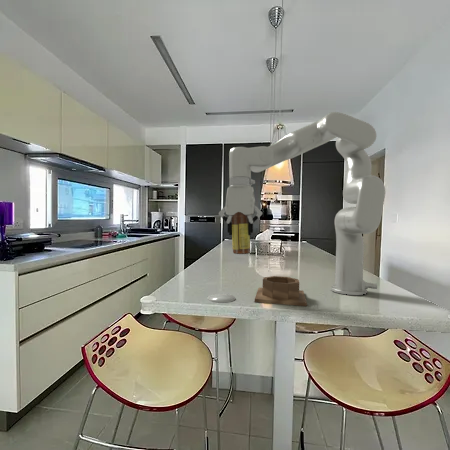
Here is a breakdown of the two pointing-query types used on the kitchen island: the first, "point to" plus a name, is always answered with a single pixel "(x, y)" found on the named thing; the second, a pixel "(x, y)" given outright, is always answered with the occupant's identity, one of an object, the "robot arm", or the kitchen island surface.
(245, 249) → the sauce bottle
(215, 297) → the coaster
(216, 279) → the kitchen island surface
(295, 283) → the holder
